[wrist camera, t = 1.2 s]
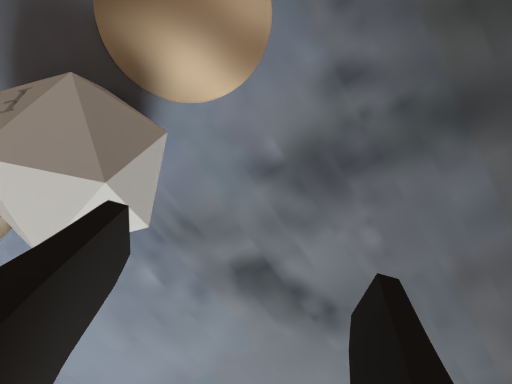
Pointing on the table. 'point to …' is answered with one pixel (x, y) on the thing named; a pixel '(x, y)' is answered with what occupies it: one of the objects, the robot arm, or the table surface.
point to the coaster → (185, 43)
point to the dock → (3, 227)
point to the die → (73, 155)
